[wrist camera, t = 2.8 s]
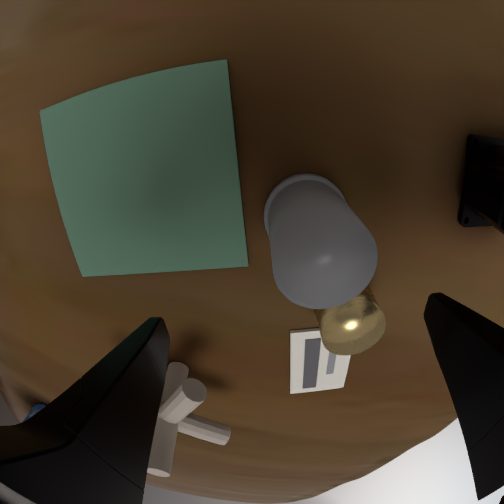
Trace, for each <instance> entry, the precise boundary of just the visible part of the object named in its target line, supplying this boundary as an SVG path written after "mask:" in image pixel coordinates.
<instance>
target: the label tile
mask: <svg viewBox="0 0 504 504" xmlns="http://www.w3.org/2000/svg"><path fill="white" fill-rule="evenodd" d="M350 356H351V355H336V354H333V353H331V352H329V351H328V350H327V349H326V348H325V347H324V345H323V343H322V338H321V334H320V330H319V328H312V329H302V330H291V331H290V394H293V393H303V392H312V391H321V390H328V389H336V388H342V387H344V383H345V378H346V374H347V370H348V365H349V361H350Z"/></svg>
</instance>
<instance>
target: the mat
mask: <svg viewBox="0 0 504 504" xmlns="http://www.w3.org/2000/svg"><path fill="white" fill-rule="evenodd" d="M40 117H41V124H42V131H43V137H44V143H45V148H46V153H47V159H48V163H49V168H50V173H51V177H52V181H53V185H54V189H55V193H56V197H57V201H58V205H59V208H60V212H61V215H62V219H63V222H64V225H65V228H66V232H67V235H68V238H69V241H70V244H71V247H72V250H73V252H74V255H75V258H76V261H77V263H78V266H79V269H80V271H81V274H82V277H87V276H105V275H123V274H140V273H157V272H173V271H188V270H203V269H218V268H232V267H246V266H248V265H249V262H248V253H247V244H246V235H245V225H244V216H243V207H242V197H241V188H240V178H239V169H238V159H237V149H236V140H235V130H234V120H233V111H232V101H231V91H230V81H229V71H228V61H227V59H226V60H218V61H211V62H204V63H198V64H192V65H186V66H181V67H176V68H171V69H166V70H161V71H157V72H153V73H148V74H144V75H141V76H137V77H133V78H129V79H126V80H122V81H119V82H116V83H112V84H109V85H106V86H103V87H100V88H97V89H94V90H91V91H88V92H85V93H83V94H80V95H77V96H75V97H72V98H70V99H67V100H65V101H62V102H60V103H57V104H55V105H53V106H50V107H48V108H46V109H43V110H41V111H40Z"/></svg>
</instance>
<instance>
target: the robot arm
mask: <svg viewBox="0 0 504 504" xmlns="http://www.w3.org/2000/svg"><path fill="white" fill-rule="evenodd" d="M474 140H475V143H474V144H473V141H474ZM465 218H466V219H465ZM464 219H465V221H464ZM459 223H460V224H461V225H462V226H463V227H478V226H493V227H495V228H496V229H497V230H499V231H500V232H501V233H503V234H504V140H500V139H496V138H491V137H486V136H481V135H475V134H470V135H469V136H468V139H467V153H466V166H465V176H464V185H463V193H462V200H461V207H460V213H459ZM424 320H425V323H426V326H427V329H428V332H429V335H430V339H431V342H432V345H433V349H434V352H435V355H436V357H437V360H438V363H439V365H440V368H441V370H442V373H443V375H444V378H445V381H446V384H447V386H448V389H449V392H450V395H451V398H452V401H453V404H454V407H455V410H456V413H457V416H458V419H459V422H460V426H461V429H462V433H463V436H464V440H465V443H466V447H467V451H468V456H469V459H470V464H471V468H472V473H473V477H474V482H475V487H476V493H477V498H478V500H480V499H482V498H484V497H486V496H488V495H489V494H491V493H493V492H494V491H496V490H497V489H499V488H501V487H502V486H504V328H503V327H501V326H499V325H497V324H496V323H494V322H492V321H491V320H489V319H487V318H485V317H484V316H482V315H480V314H478V313H477V312H475V311H473V310H471V309H470V308H468V307H466V306H464V305H463V304H461V303H459V302H457V301H455V300H453V299H452V298H450V297H448V296H446V295H444V294H442V293H440V292H438V293H432V294H430V295H429V297H428V301H427V304H426V307H425V311H424ZM169 344H170V337H169V333H168V331H167V328H166V325H165V322H164V320H163V318H161V317H151V318H149V319H148V320H146V321H145V322H144V323H143V324H142V325H141V326H139V327H138V328H137V329H136V330H135V331H134V332H133V333H131V334H130V335H129V336H128V337H127V338H126V339H124V340H123V341H122V342H121V343H120V344H119V345H117V346H116V347H115V348H114V349H113V350H112V351H111V352H109V353H108V354H107V355H106V356H105V357H104V358H103V359H101V360H100V361H99V362H98V363H97V364H96V365H95V366H93V367H92V368H91V369H90V370H89V371H88V372H87V373H85V374H84V375H83V376H82V377H81V378H80V379H79V380H77V381H76V382H75V383H74V384H73V385H72V386H71V387H69V388H68V389H67V390H66V391H65V392H63V393H62V394H61V395H60V396H58V397H57V398H56V399H54V400H53V401H52V402H51V403H49V404H48V405H46V406H45V407H44V408H42V409H41V410H40V411H38V412H37V413H36V414H34V415H33V416H31V417H30V418H29V419H27V420H26V421H24V422H22V423H20V424H17V425H11V426H0V504H142V501H143V494H144V487H145V481H146V475H147V469H148V464H149V458H150V453H151V448H152V442H153V437H154V432H155V427H156V422H157V417H158V413H159V408H160V403H161V399H162V394H163V390H164V385H165V379H166V371H167V361H168V353H169ZM499 504H504V496H502V498H501V501H500V503H499Z"/></svg>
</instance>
